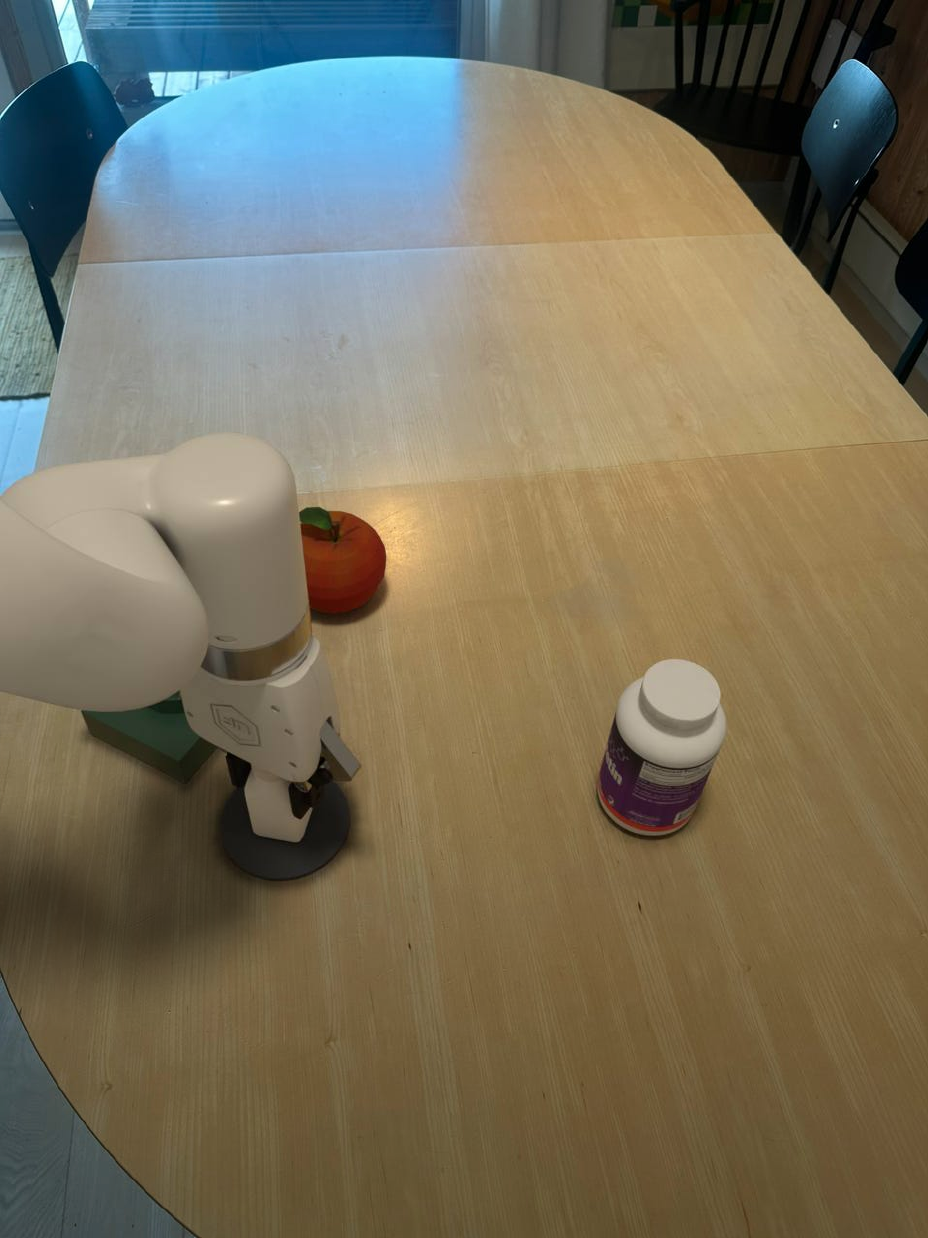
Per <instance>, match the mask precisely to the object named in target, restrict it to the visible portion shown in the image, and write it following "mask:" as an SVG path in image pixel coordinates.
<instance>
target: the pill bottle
mask: <svg viewBox="0 0 928 1238" xmlns="http://www.w3.org/2000/svg"><path fill="white" fill-rule="evenodd" d="M721 695H722V693H721V689H720V686H719V683H718V682H717V680H716V678H715V677H714V675H713V674H712V673H710V672H709V671H708V670H707V669H706V668H704V667H703V666H702V665H700V664H698V663H695V662H693V661H689V660H687V659H680V658H670V659H664V660H661V661H658V662H656V663H654V664H653V665H651V667H649V668H648V669H647V670H646V672H645V673H644V676H641V677H639V678H638V679H636V680H634V681H633V682H631V683H630V684H629V685H628V686H627V687H626V688H625V689H624V690H623V692H622V694H621V695H620V696H619V699H618V702H617V705H616V709H615V713H614V716H613V721H612V723H611V727H610V731H609V735H608V739H607V743H606V746H605V750H604V754H603V759H602V761H601V765H600V769H599V771H598V777H597V782H596V788H597V796H598V798H599V801H600V804H601V807H602V808H603V809H604V811H605V813H606V814H607V815H608V816H609V817H610V818H611V820H612V821H614V822H615V823H616V824H617V825H619V826H620V827H622V828H623V829H625V830H627V831H629V832H632V833H634V834H637V835H643V836H652V837H653V836H656V837H657V836H665V835H668V834H671V833H673V832H676V831H678V830H680V829H681V828H682V827H684V826H685V825H686V824H687V823H688V822H689V820H690V819H691V818H692V816H693V814H694V813H695V810H696V809H697V806H698V804H699V801H700V798H701V796H702V794H703V791H704V789H705V786H706V784H707V781H708V779H709V776H710V774H711V771H712V770H713V767H714V765H715V762H716V760H717V758H718V755H719V754H720V751H721V748H722V747H723V744H724V741H725V739H726V736H727V735H726V734H727V718H726V717H727V716H726V713H725V711H724V709H723V706H722V705H721V697H722V696H721Z"/></svg>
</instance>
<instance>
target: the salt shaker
mask: <svg viewBox="0 0 928 1238" xmlns="http://www.w3.org/2000/svg"><path fill="white" fill-rule="evenodd" d="M251 767H252V769H251V771H250V774H249V777H248V779H247V782H246V785H245V789H244V790H245V798H246V802H247V806H248V810H249V815H250V819H251V823H252V828H253V832H254V833H255V834H257V835H259V836H263V837H269V838H274V839H279V840H285V841H290V842H299V841H300V840H301V839H302V837H303V836H304V833H305V830H306V827H307V824H308V821H309V818H310V815H311V812H312V809H313V808H311V807H310V809H309V810H308V811H307V813H306V814H305V815H304V817H303V818H302V819H301V820H300V819H298V818H296V817H294V816H293V814H292V809H291V803H290V797H289V791H288V787H289V785H290V784H291V782H292V781H288V780H286V779H283V778H281V777H279V776H276V775H274V774H272V773H270V772H268V771H266V770H264V769H262V768H260V767H258V766H256V765H254V764H252V763H251Z"/></svg>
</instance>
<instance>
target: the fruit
mask: <svg viewBox="0 0 928 1238" xmlns="http://www.w3.org/2000/svg"><path fill="white" fill-rule="evenodd" d="M299 517H300V526H301V535H302V545H303V554H304V563H305V572H306V582H307V591H308V599H309V607H310V609H312V610H314V611H318V612H321V613H324V614H344V613H348V612H352V611H353V610H355V609H357V608H359V607H361V606H364V605H365V604H366V603H367V602H368V601H369V600H370V599H371V598H372V597H374V595H375V594H376V592H377V590H378V588H379V587H380V585H381V583H382V581H383V579H384V578H385V573H386V568H387V552H386V546H385V544H384V542H383V540H382V538H381V536H380V535H379V533H378V531H377V530H376V529H375V528H374V527H373V526H371V524H369V523H368V522H367V521H365V520H364V519H362V518H361V517H359V516H357V515H355V514H353V513H350V512H346V511H342V510H326V509H325V508H322V507H321V506H309V507H307V506H306V507H305V508H303V509H302V510H299Z"/></svg>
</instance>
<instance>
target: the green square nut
mask: <svg viewBox="0 0 928 1238" xmlns="http://www.w3.org/2000/svg"><path fill="white" fill-rule="evenodd" d="M179 693H180V690H179V691H177V692H176V693H174V694H173V695H171V696H170V697H168V698H167V699H165V700H162V701H160V702H158V703H156V704H153V705H150V706H147V707H143V708H140V709H134V710H127V711H117V712H99V711H86V710H80V713H81V715H82V717H83V721H84V723H85V725H86V727H87V730H88V732H89V734H90V735H91V736H94V737H95V738H97V739H99V740H102V742H105V743H107V744H109V745H111V746H112V747H114V748H116V749H119V750H120V751H122V752H124V753H126V754H128V755H130V756H131V757H134V758H135V759H138V760H140V761H141V762H143V763H145V764H147V765H149V766H151V767H153V768H155V769H156V770H159V771H161V772H162V773H163V774H164V773H165V774H167V775H168V776H170V777H172V778H174V779H176V780H178V781H180V782H181V783H184V784H187V783H188V782H189V781H190V780H191V778H192V777H193V776H194V775H195V774H196V772H197V771H199V769H200V768H201V767H202V766H203V765H204V763H206V761H207V760H208V759H209V758H210V757H211V756H212V755H213V753H214V752H215V751H216V750H217V749H218V748H217V746H216V745H214V744H212V743H211V742H209V741H207V740H205V739H204V738H202V737H200V736H199V735H198V734H196V733H195V732H194V731H193V730H192V729H191V727H190V725H189V723H188V721H187V718H186V715H185V711H184V707H183V703H182V699H181V698H180V696H179Z"/></svg>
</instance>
